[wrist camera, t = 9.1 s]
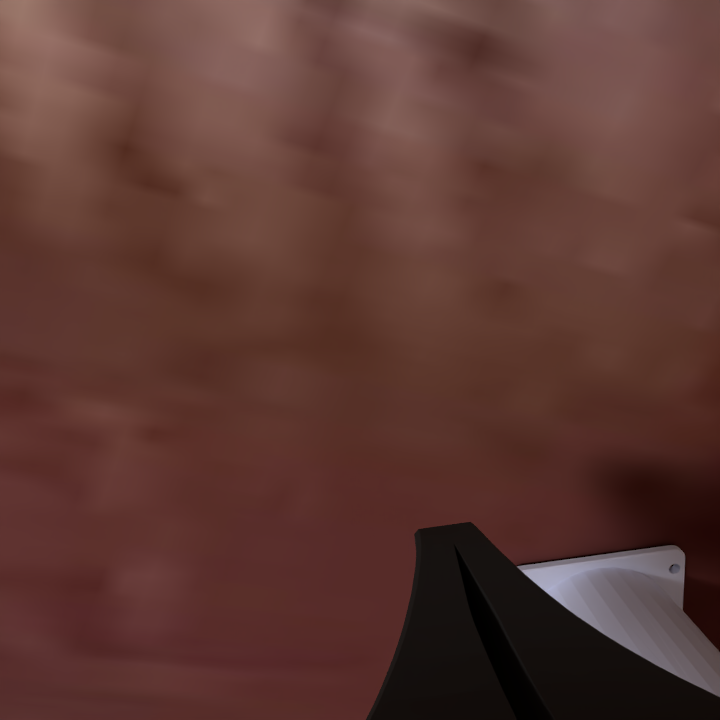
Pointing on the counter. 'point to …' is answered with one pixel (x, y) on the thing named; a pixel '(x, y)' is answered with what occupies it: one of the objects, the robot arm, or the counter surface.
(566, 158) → the counter surface
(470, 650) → the robot arm
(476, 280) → the counter surface
